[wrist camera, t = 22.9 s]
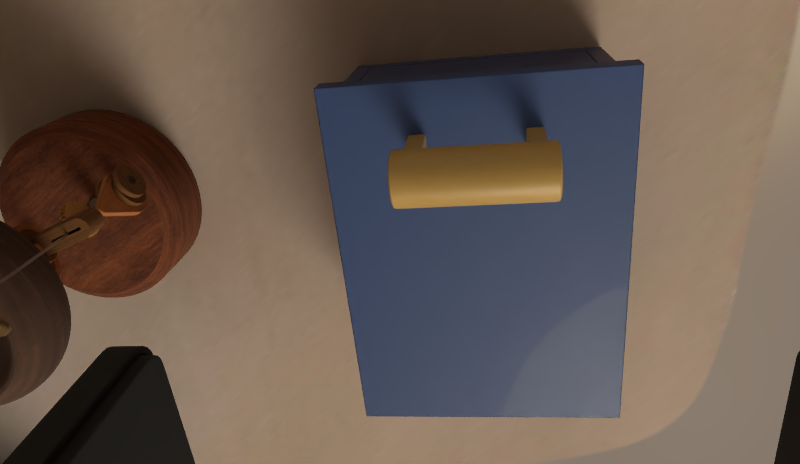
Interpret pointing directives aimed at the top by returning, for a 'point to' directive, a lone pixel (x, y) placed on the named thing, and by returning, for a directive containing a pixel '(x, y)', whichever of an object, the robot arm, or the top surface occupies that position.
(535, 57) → the case
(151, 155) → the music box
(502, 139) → the lid
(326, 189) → the top surface
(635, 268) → the top surface
